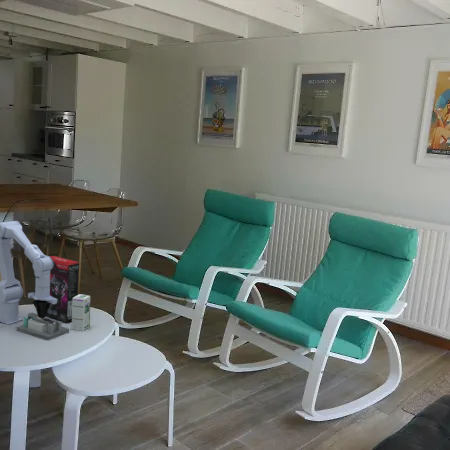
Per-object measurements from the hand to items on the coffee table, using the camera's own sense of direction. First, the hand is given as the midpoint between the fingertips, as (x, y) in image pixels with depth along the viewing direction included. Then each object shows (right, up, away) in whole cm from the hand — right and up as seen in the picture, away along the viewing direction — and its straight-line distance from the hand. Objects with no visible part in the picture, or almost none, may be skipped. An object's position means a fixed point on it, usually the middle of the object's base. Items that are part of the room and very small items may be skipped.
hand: (41, 317), depth 221 cm
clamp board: (0, -6, +1) cm, 6 cm away
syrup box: (+14, -7, +8) cm, 18 cm away
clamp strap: (0, -2, 0) cm, 2 cm away
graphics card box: (+1, -4, +19) cm, 20 cm away
